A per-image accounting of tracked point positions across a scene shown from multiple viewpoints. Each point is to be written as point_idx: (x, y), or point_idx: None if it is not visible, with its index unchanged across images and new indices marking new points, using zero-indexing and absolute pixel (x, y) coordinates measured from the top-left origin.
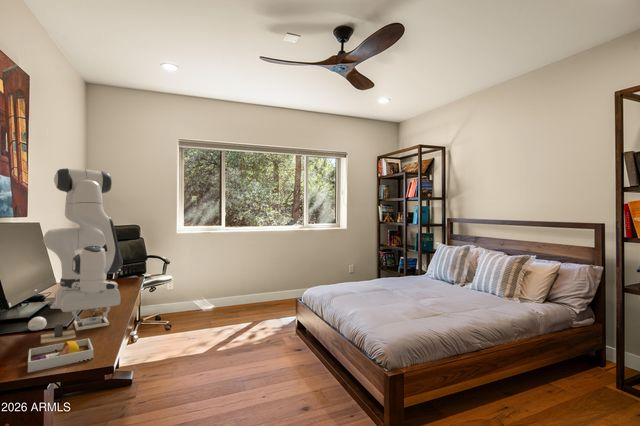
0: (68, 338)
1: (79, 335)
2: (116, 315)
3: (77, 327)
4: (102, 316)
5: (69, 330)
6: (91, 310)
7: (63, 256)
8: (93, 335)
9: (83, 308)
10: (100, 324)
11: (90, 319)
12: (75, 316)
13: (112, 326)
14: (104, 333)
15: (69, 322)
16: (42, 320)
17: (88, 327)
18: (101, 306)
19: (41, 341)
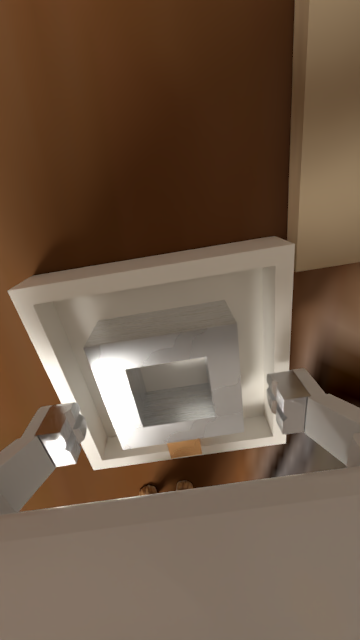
0: None
1: (253, 137)
2: (53, 499)
3: (283, 252)
4: (108, 466)
5: (330, 265)
6: None
7: None
8: (125, 51)
9: (304, 492)
10: (83, 276)
11: (181, 414)
12: (334, 401)
13: (9, 295)
14: (20, 74)
15: (287, 468)
16: None
17: (186, 256)
18: (26, 523)
19: None
